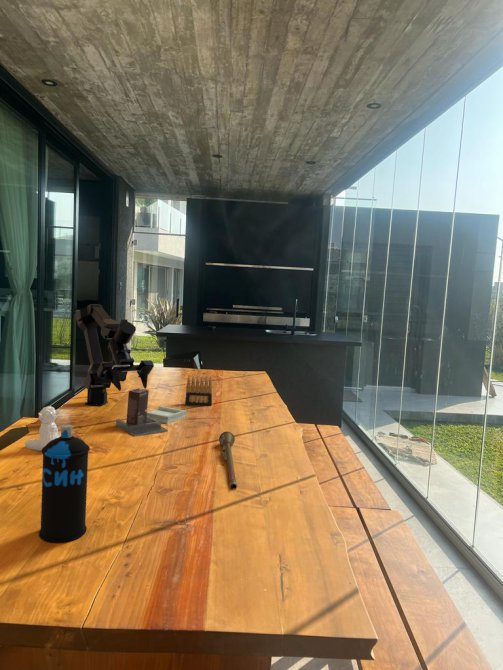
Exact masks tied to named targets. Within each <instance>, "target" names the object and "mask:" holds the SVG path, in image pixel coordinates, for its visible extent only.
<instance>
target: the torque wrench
mask: <svg viewBox="0 0 503 670" xmlns="http://www.w3.org/2000/svg"><path fill="white" fill-rule="evenodd" d="M235 438H236V437H235V436H234V434H233V433H232V432H230V431H224V432H222V433H220V434H219V437H218V442H219V444H220V445H221V446H222V449H220V453H221V455H222V458H223V459H224V461H225V462H226V463H227V470H228V478H229V486H230V487H229V488H230V489H233V487H234V489H237V488H238V484H237V479H236V473H235V467H234V461H233V454H232V448H231V447H232V446H233V445H234V443H235V441H236V439H235Z"/></svg>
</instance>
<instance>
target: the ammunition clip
mask: <svg viewBox="0 0 503 670" xmlns="http://www.w3.org/2000/svg"><path fill="white" fill-rule="evenodd" d="M187 376H188V377H187V381H186V387H185V402H184V403H185V406H202V407H203V406H205V407H211V406H213V405H212V403H213V376H210V377H209V378H208V376H207V375H206V376H205V379H204V376H203V375H201V378H200V376H199V375H197V377H196V379H195V375H192V379H191V377H190V375H187Z"/></svg>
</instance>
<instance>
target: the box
mask: <svg viewBox="0 0 503 670" xmlns="http://www.w3.org/2000/svg"><path fill="white" fill-rule="evenodd" d="M149 392H150V390H149V389H144V388H140V387H138V388H136V389H135V388H134V389H132V390H131V389H130V390H129V391H128V395H127V396H128V398H127V407H126V408H127V410H126V421H125V422H126V423H127V424H129V425H135V424H143V423H146V419H147V412H148V404H149V403H148V402H149Z"/></svg>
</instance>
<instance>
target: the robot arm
mask: <svg viewBox="0 0 503 670" xmlns="http://www.w3.org/2000/svg"><path fill="white" fill-rule="evenodd" d="M74 317H75V322H77V326H78V328H79V329H81V332H83V335H84V340H85V343H86V344H85V345H86V349H87V355H88V360H89V363H90V364H89V365H90V366H89V367H88V370H87V375H86V377H85V379H84V381H83V387H84V389H87V396H86V397H87V398H86V402H85V403H84V404H85V405H88V406H89V405H90V406H97V407H98V406H99V407H100V406H103V405H106V404H108V392H107V389H111V386H112V384H113V386H114V387H115V388H116V389H117V390H118V391H119V392H121V391H122V385H121V382H122V383H124V382H125V381H127V376H128V372H137V375H138V378H140V380H141V384H142V387H143V389H145V390H147V386H148V377H149V375H150V374H151V372H152V370H153V369H154V367H155V365H154V362H153V360H149V359H147V360H140V362H139V364H134V362H135V359H134V358H132V355H131V352H132V350H131V349H130V348H128V346H127V344H129V343H130V342H131V341H132V339H133V336H134V335H135V333H136V330H137V328H136V326H135V325H134V323H131V322H129V320H128V319H121V320H120V322H119V320H118V321H117V320H114V319H112V318H111V316H110V315H109V314H108V313H107V312H106V310H105V309H104V307H103V305H101V304H94V303H93V304H92V303H91V304H88V305H87V306H85V307H82V308H80V309H79V310H77V311H76V313H75V316H74ZM98 325H99V327H100V334H101V336H102V338H103V339H104V340H109V342H108V346H107V350H108V351H110V352H111V355H112V358H111V361H104V359H103V355H102V349H101V344H100V340H99V335H98V330H97V327H98Z"/></svg>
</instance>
